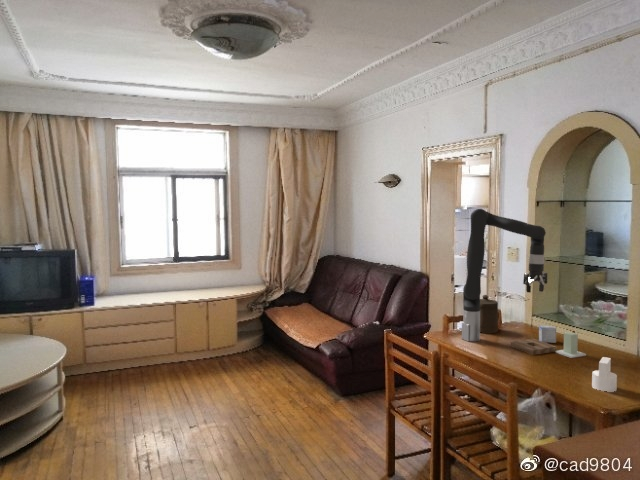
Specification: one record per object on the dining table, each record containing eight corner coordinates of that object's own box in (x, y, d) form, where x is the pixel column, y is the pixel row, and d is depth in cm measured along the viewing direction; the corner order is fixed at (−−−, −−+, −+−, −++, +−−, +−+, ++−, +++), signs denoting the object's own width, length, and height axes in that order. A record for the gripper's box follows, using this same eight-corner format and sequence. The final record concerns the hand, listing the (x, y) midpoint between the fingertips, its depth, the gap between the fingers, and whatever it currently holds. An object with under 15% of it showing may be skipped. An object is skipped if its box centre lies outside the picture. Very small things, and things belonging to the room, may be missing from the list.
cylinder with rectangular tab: (594, 382, 209) (594, 355, 208) (618, 387, 203) (619, 359, 202) (589, 388, 202) (590, 360, 201) (614, 393, 196) (615, 365, 195)
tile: (571, 358, 241) (571, 356, 241) (555, 352, 250) (555, 350, 250) (585, 355, 244) (586, 354, 244) (569, 349, 254) (569, 348, 254)
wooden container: (485, 326, 304) (485, 292, 303) (503, 331, 291) (503, 296, 289) (467, 329, 298) (467, 294, 296) (484, 334, 285) (485, 298, 283)
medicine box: (553, 340, 271) (553, 325, 270) (556, 343, 266) (556, 327, 266) (538, 340, 272) (538, 325, 271) (541, 342, 267) (541, 327, 266)
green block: (570, 354, 244) (571, 335, 244) (563, 351, 249) (563, 332, 248) (577, 353, 246) (577, 334, 245) (569, 350, 250) (570, 331, 249)
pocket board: (532, 355, 246) (532, 350, 246) (510, 346, 261) (510, 341, 261) (556, 351, 252) (556, 346, 252) (533, 343, 267) (533, 338, 267)
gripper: (541, 261, 266) (539, 290, 267) (520, 262, 261) (519, 291, 263) (552, 263, 259) (550, 292, 260) (531, 263, 254) (529, 293, 256)
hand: (534, 291), depth 262 cm, fingers open, 8 cm apart
